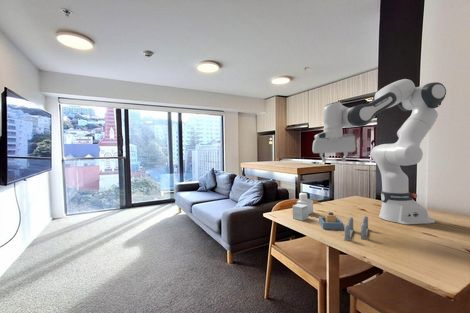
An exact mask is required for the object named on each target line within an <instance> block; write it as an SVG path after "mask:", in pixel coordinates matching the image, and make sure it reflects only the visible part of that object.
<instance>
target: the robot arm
mask: <svg viewBox="0 0 470 313" xmlns="http://www.w3.org/2000/svg"><path fill="white" fill-rule="evenodd" d="M446 95H447V89H446V86H445V85H444V84H443V83H442V82H438V81H437V82H435V81H434V82H428V83H426V84H424V85H420V86H416V85H415V83H414V82H413V80H411V79H407V78H403V79H399V80H396V81H394V82H391V83H389V84H387V85H385V86H384V87H382V88H380V89H379V90H378V91H377V92H375V94H374V100H372V101H371V102H369V103H361V104H358V105H357V104H356V105H355V106H352V107H347V106H345V105H343V104H342V103H341V102H340V101H334V102H331V103H328V104H326V105H325V106H324V108H323V113H322V114H323V115H322V118H323V120H322V121H323V131H322V132H319V133H317V134H315V135H314V136H313V137H314V140H313V142H312V147H311V148H312V153H313V154H319V157H320V158H321V162H323V163H326V162H327V158H325V157H324V154H328V153H329V154H330V153H332V154H333V153H343V157H341V162H346V161H347V160H346V159H347V157H348V155H349V153H354V152H355V151H356V136H355V135H354V134H353V133H344V132H343V128H346V129H348V128H349V129H350V128H356V127H365V126H367V125H368V124H370V123H371V122H372V120H373V119H374V118H375V117H376V116H377V115H378V114H379V113H381V112H383V111H385V110H386V109H389V108H392V107H395V106H397V107H398V109H400V110H401V111H403V112H411V114H410V116H409V117H408V118H407V119H406V120H405V121H404V122H403V124H402V125H401V126H400V127H399V129H397V132H396V136H397V137H398V139H397V141H396V142H394V143H383V144H379V145H376V146H374V147H373V148H371V152H370V157H371V159H372V160H373V161H374V162H375V163H376V166H377V168H378V169H379V172H380V176H381V192H380V198H381V208H380V212H379V214H378V217H379V218H380V219H382V220H385V221H387V222H392V223H398V224H401V225H424V224H436V222H435V219H433V218H432V217H430V216H429V213H428V211H427V208H426V207H425V206H423V205H421V204H420V203H419V202H417V201H415V200H414V199H417V198H418V194H417V193H414V192H413V193H412V192H409V177H408V175H407V174H406V173H405V172H404V171H403V170H402V168H401V166H404V167H405V166H412V165H417V164H419V163H420V162H421V161H422V159H423V156H424V154H423V149H422V147H421V146H420V145H421V143H422V141H423V140H424V138H425V137H426V136H427V134H428V133H429V132H430V130H431V129H432V128H433V126H434V125H435V123H436V121H437V118H438V116H439V112H438V111H437V110H436V108H438V107H440V106H441V105H442V102H443V101H444V100H445V97H446ZM413 198H414V199H413Z"/></svg>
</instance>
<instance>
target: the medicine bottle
mask: <svg viewBox="0 0 470 313" xmlns="http://www.w3.org/2000/svg"><path fill="white" fill-rule="evenodd" d="M296 204H303V205H308V216H309V215H310V214H312V213H314V201H313V200H312V199H311V194H310V193H309V192H306V191H305V192H304V191H301V192H299V199H298V200H297V201H296Z"/></svg>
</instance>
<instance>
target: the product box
mask: <svg viewBox="0 0 470 313" xmlns="http://www.w3.org/2000/svg"><path fill="white" fill-rule="evenodd" d="M292 219H294V220H299V221H301V222H303V221H305V220H308V219H309V215H308V205H303V204H297V203H296V204H293V205H292Z"/></svg>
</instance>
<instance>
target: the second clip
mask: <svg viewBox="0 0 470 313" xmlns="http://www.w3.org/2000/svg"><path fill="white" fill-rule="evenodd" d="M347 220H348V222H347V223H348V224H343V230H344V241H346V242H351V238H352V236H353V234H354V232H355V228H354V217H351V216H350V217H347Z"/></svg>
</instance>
